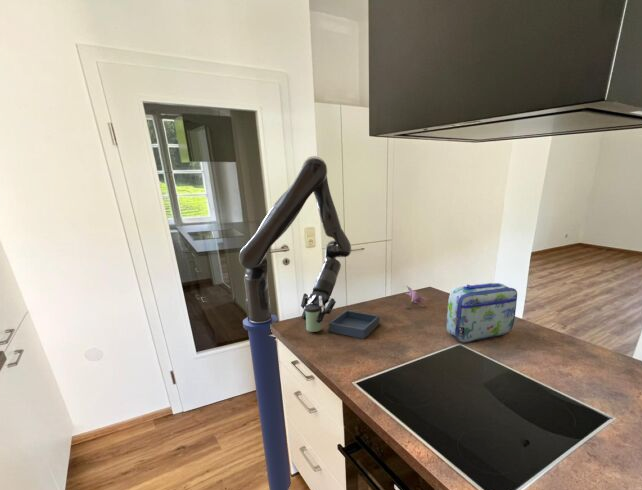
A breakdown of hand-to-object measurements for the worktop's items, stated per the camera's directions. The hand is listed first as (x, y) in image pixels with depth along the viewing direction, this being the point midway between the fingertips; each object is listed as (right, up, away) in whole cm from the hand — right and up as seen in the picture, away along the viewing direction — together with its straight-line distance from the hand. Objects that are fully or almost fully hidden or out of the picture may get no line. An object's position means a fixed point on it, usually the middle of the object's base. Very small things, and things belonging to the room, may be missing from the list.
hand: (311, 320), depth 139 cm
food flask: (+1, -3, +3) cm, 5 cm away
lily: (+44, +6, +31) cm, 54 cm away
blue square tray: (+17, -3, +7) cm, 18 cm away
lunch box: (+65, -6, +2) cm, 66 cm away
